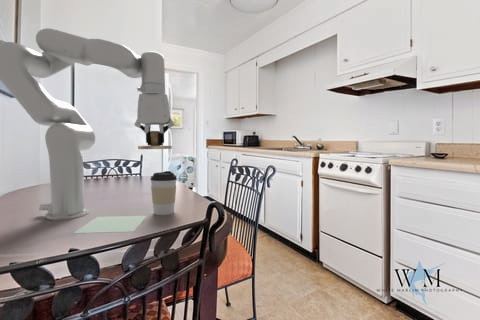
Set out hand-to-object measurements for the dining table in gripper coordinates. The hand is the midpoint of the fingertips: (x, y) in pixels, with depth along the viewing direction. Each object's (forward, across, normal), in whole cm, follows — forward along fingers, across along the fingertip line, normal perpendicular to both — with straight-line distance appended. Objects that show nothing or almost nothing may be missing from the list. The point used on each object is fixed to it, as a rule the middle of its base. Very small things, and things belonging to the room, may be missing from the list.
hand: (155, 144), depth 89 cm
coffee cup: (+25, +2, +3) cm, 25 cm away
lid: (+1, 0, 0) cm, 1 cm away
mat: (+24, -11, -10) cm, 28 cm away
